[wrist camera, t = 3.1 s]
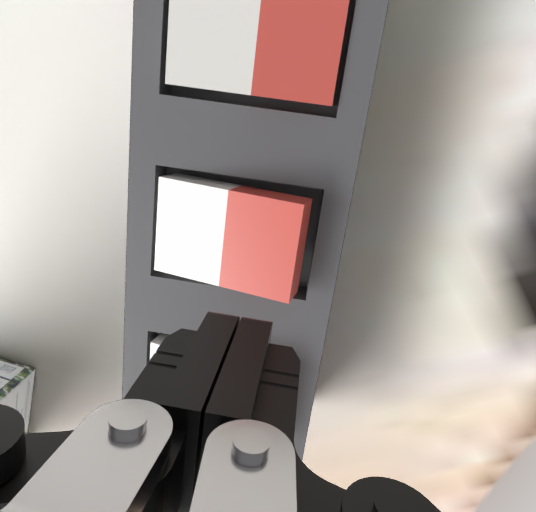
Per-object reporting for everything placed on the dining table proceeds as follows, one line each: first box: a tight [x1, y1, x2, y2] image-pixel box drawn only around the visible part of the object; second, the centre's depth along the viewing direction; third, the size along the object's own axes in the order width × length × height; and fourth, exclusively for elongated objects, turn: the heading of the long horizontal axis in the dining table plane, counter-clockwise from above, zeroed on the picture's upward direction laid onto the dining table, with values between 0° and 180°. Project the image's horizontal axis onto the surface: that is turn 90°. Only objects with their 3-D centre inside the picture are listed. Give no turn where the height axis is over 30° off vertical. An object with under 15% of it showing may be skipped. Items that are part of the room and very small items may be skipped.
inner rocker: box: [165, 0, 349, 106], centre depth 16 cm, size 4×6×1 cm, turn 83°
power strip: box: [122, 0, 389, 461], centre depth 21 cm, size 22×9×5 cm, turn 173°
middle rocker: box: [154, 173, 312, 304], centre depth 19 cm, size 4×6×1 cm, turn 83°
